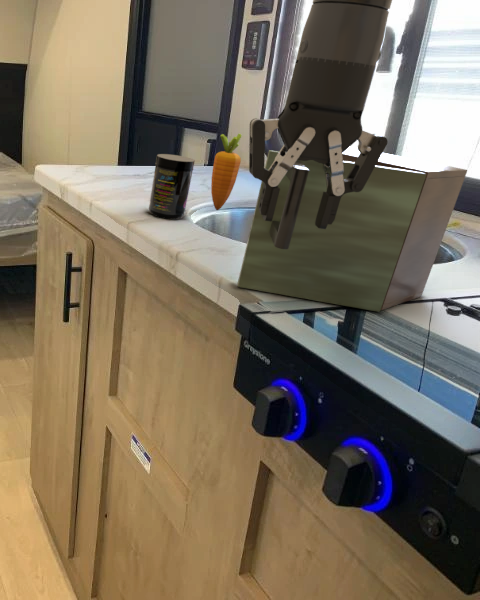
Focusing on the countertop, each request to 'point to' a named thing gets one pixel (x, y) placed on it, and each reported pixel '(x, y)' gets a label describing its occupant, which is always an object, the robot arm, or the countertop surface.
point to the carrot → (225, 171)
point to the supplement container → (170, 186)
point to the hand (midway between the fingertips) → (293, 222)
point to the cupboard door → (331, 237)
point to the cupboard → (419, 223)
